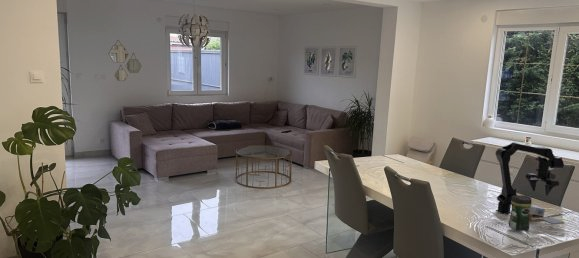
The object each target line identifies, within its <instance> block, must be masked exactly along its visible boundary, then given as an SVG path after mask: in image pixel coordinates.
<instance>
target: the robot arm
mask: <svg viewBox="0 0 579 258" xmlns="http://www.w3.org/2000/svg"><path fill="white" fill-rule="evenodd" d="M517 151H522V152H525V153H526V152H527V153H532V154H535V155H538V156H537V157H536V158H534V160H535V161H538V162H537V168H536V169H535V171H536V172H537V173H526V175H525V179H527V181H528V182H529V186H530V187H531V189H532V190H531V191H533V192H535V191H536V188H537V182H539V181H541V182H543V183H545V184H544V187H545V188H544V189H545V190H544V191H545V196H547V197H548V196H549V194H550V193H551V191H552V189H553V188H555V187H557V186H559V185H560V181H559V180H557V179H556V176H557V175H556V174H554V173H551V170H550V169H559V170H562V169H563V168H564V166H565V164H564V160H563V157H559V156H557V157H556V156H555V155H554V153H553V150H552V149H551V148H548V147H546V146H532V145H526V144H522V143H518V142H511V143H510V144H507V145H505V146H502V147H499V148H498V149H496V150H495V156H496V159H497V161H498V163H499V167H500V173H501V181H502V188H501V191H500V192H501V193H500V194H499V195H498V196H497V197H496V199H497V201H498V204H497V209H495V212H498V213H500V214H502V215H507V214H510V215H511V209H512V204H511V199H512V196H513V195H514V196H517V195H518V194H517V189H516V188H514V187H513V186H512V179H511V170H510V161H511V156H513V155H514V154H516V152H517Z"/></svg>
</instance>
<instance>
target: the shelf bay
mask: <svg viewBox="0 0 579 258" xmlns="http://www.w3.org/2000/svg"><path fill="white" fill-rule="evenodd" d="M533 216H534V215H533V214H532V213H529V223H530V222H539V221H541V222H542V221H543V218H544V217H534V218H533ZM543 222H544V221H543Z"/></svg>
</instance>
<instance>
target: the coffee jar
mask: <svg viewBox="0 0 579 258" xmlns="http://www.w3.org/2000/svg"><path fill="white" fill-rule="evenodd" d="M532 202H533V201H532V197H531V196H529V195H526V194H525V195H524V194H523V195H522V194H520V195H518V194H517V196H514V195H513V196H512V199H511V204H512V205H511V208H510V212H511V214H510V215H509V221H508V227H509V228H510V229H511V230H515V231H518V232H519V231H520V232H521V231H529V229H530V221H529V212H530V207H531V205H533V203H532Z"/></svg>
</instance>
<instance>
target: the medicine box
mask: <svg viewBox="0 0 579 258" xmlns="http://www.w3.org/2000/svg"><path fill="white" fill-rule="evenodd" d="M545 211H546V209H545V208H543V207H540V206H538V205H534V204H531V207H530V212H529V213H532V214H533V216H540V217H544V215H545Z"/></svg>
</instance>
